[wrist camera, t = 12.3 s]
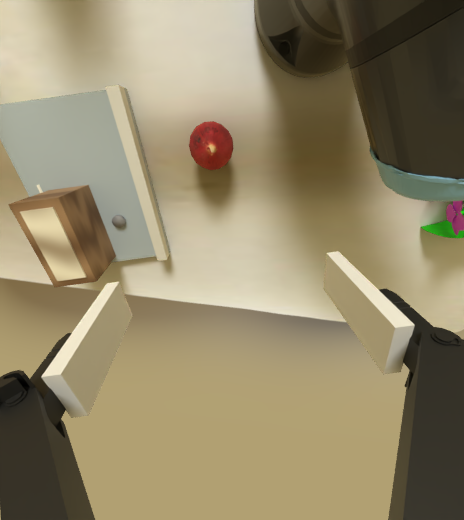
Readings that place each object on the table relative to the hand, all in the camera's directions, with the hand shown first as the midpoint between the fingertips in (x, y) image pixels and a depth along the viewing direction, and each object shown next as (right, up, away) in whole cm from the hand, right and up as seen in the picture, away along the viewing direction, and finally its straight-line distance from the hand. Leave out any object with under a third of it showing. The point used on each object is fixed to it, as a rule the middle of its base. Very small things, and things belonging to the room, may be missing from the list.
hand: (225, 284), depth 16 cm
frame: (-23, +7, +23) cm, 34 cm away
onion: (-3, +19, +20) cm, 28 cm away
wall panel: (-21, +12, +22) cm, 33 cm away
